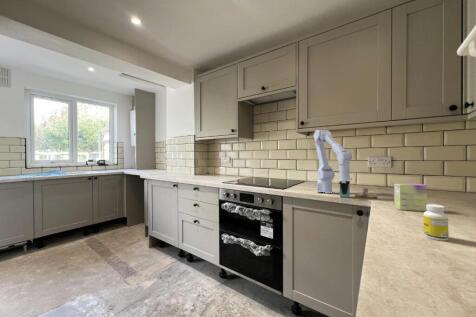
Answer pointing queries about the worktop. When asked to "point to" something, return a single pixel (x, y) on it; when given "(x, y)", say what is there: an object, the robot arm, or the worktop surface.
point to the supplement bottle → (436, 222)
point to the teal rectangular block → (345, 194)
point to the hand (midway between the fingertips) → (344, 193)
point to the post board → (365, 194)
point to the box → (410, 196)
